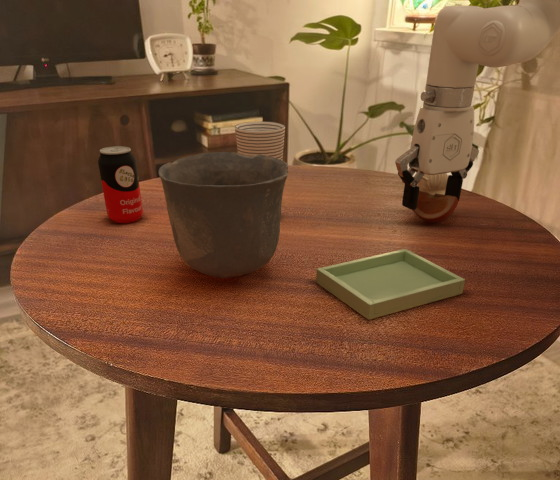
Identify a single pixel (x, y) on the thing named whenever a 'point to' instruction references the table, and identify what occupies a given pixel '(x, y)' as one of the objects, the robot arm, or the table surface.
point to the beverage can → (120, 184)
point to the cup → (260, 139)
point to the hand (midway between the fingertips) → (430, 203)
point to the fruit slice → (435, 206)
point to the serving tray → (389, 283)
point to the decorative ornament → (433, 183)
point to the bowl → (225, 210)
